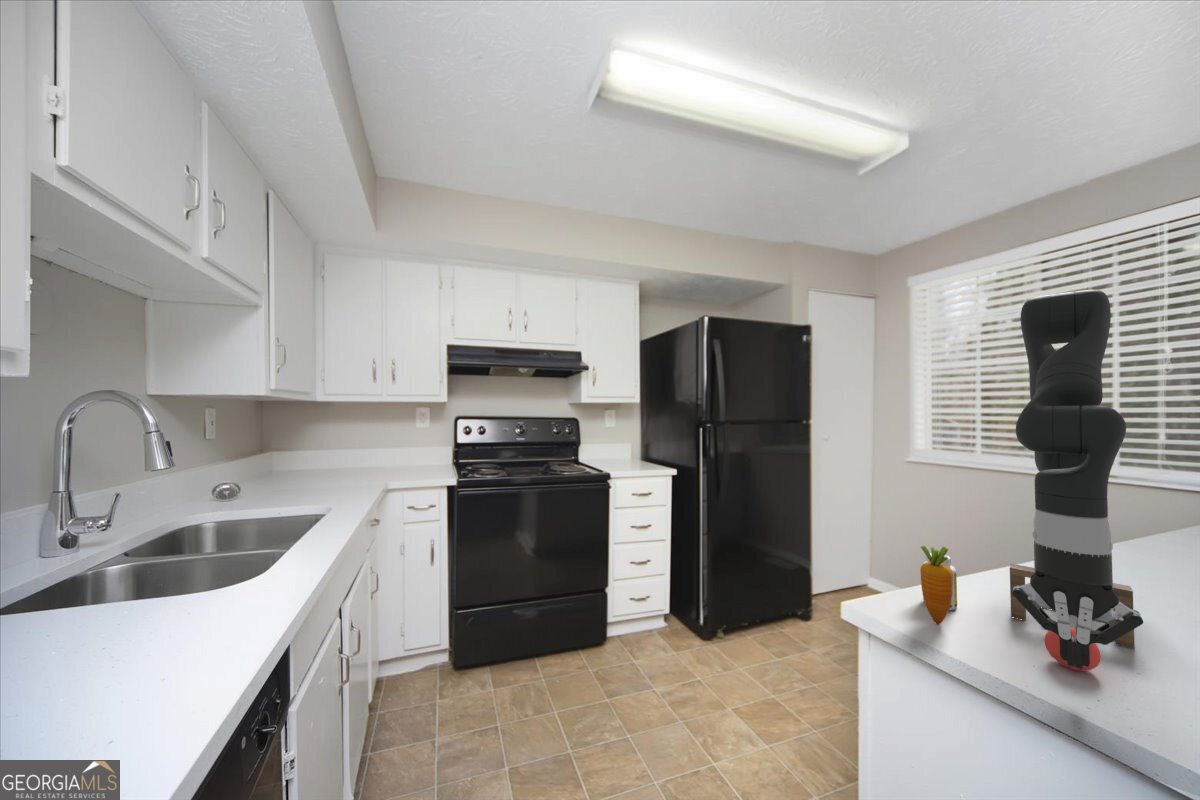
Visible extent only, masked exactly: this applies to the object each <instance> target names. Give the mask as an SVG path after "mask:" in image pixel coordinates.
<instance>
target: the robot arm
mask: <svg viewBox="0 0 1200 800" xmlns="http://www.w3.org/2000/svg"><path fill="white" fill-rule="evenodd" d="M1111 312H1112V310H1111V303H1110V299H1109V297H1108V295H1107V294H1106V292H1104V291H1103V290H1100V289H1086V290H1076V291H1069V292H1063V293H1062V292H1061V293H1053V294H1045V295H1040V296H1036V297H1035V296H1034V297H1032V298H1029V299H1027V300H1025V302H1024V303H1023V305H1022V308H1021V311H1020V328H1021V333H1022V338H1023V344H1024V347H1025V354H1026V356H1027V357H1026V358H1027V362H1028V371H1029V372H1028V373H1029V376H1028V377H1029V394H1030V395H1029V396H1030V401H1029V402H1028V403H1027V404H1026V405H1025V406H1024V408H1023V410H1022V411H1021V412H1020V414H1019V416H1018V418H1017V421H1016V424H1015V436H1016V438H1017V441H1018V442H1019V443H1020V444H1021V445H1022V447H1025V448H1026V449H1027V450H1029V451H1032V452H1034V464H1035V466H1036V469H1037V470H1038V472H1037V473H1036V474H1035V477H1034V505H1035V506H1034V507H1035V510H1034V516H1033V525H1032V526H1033V527H1032V529H1033V531H1032V537H1033V564H1034V566H1033V568H1034V570H1035V572H1034V574H1033V576H1032V577H1031V578H1029V579H1030V580H1029V582H1028V583H1025V585H1022V586H1019V585H1015V586H1014V587H1013V595H1014V596H1015V597H1016V599H1017V600H1018V601H1019V602H1020V603H1021V604H1022V605H1023V606H1024V608H1025V609H1026V612H1028V613H1029V614H1030V615H1031V617H1032V618H1033V619H1034V621H1036V622H1037V624H1039V626H1041V628H1042V629H1043V630H1046V631H1047V632H1048V631H1052V632H1054V633H1056V634H1057V635H1058V636H1059V642H1060V656H1061V658H1062V659H1063V660H1066V661H1067V665H1069V666H1072V667H1076V668H1079V669H1082V670H1083V666H1087V667H1088V666H1089V664H1090V651H1089V646H1090V645H1091V644H1092V643H1096V644H1101V645H1105V646H1107V645H1109V644H1111V643H1112V642H1115V640H1116V639H1118V638H1119V637H1121V636H1123V635H1125V634H1126V633H1128V632H1130V631H1131V630H1133V629H1134V630H1136V629H1137V628H1138V627H1140V626H1142V625H1143V624H1144V620H1143V617H1142V616H1141V613H1140V611H1137V610H1136V609H1134V608H1133V609H1130V608H1128V607H1127V606H1125V605H1124V604H1122V603H1121V602H1119V598H1118V595H1117V594H1116V592H1115V591H1114V589H1113V583H1114V579H1113V549H1114V547H1113V546H1114V545H1113V542H1112V531H1111V528H1110V527H1111V526H1110V521H1109V517H1108V516H1109V514H1108V513H1109V508H1108V506H1109V505H1108V486H1109V478H1110V474H1111V471H1112V467H1113V465H1114V462H1115V459H1116V458H1117V456H1118V453H1119V451H1120V449H1121V446H1122V444H1123V442H1124V440H1125V437H1126V433H1127V423H1126V421H1125V418H1124V417H1123V416H1122V414H1121V413H1119V411H1117V410H1115V409H1114V408H1112V407H1110V406H1107V405H1101V404H1102V401H1103V378H1102V377H1103V376H1102V365H1103V360H1104V356H1105V352H1106V351H1107V345H1108V340H1109V335H1110V328H1111V327H1110V326H1111V317H1112V314H1111ZM1056 344H1057V345H1059V344H1064V345H1063V346H1062V347H1060V348H1058V349H1057V350H1056V349H1055V348H1054V346H1053V345H1056ZM1034 591H1036V592H1037V593H1038V594H1039V596H1040V597H1041V598H1042V599H1043V600H1044V601H1045V603H1046V604H1047V605H1048V606H1049V607H1050V608H1051V609H1053V610H1055V611H1054V612H1055V614H1056V620H1054V619H1052V618H1051V617H1050V616H1049V615H1048V614H1047V612H1045V609H1044V608H1041V607H1040V606H1039V605H1038V604H1037V603H1036V602H1035V599H1036V596H1035V594H1034ZM1113 608H1115V611H1114V612H1113V611H1112V617H1113V616H1114V619H1113V618H1112V620H1111V621H1109V622H1107V623H1103V624H1102V625H1100V626H1099V627H1097V628H1096V629H1093V630H1092V621H1093V620H1092V619H1097V618H1099V617H1101V616H1102V615H1104V614H1105V613H1106V612H1108V611H1109V610H1110V611H1111V610H1113ZM1053 610H1052V611H1053ZM1070 616H1075V618H1076V621H1075V622H1076V623H1075V629H1076V637H1074V638H1073V636H1072V633H1071V630H1070V628H1071V625H1070ZM1074 658H1075V660H1074Z"/></svg>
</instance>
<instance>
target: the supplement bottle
mask: <svg viewBox="0 0 1200 800" xmlns="http://www.w3.org/2000/svg"><path fill="white" fill-rule="evenodd" d="M929 553H930V555H931V557H932V554H931V552H929ZM938 554H939V553H938ZM944 557H948V559H947V560H945V561H944V562H943V563H941V564H943V565H945V566H947V567H949V568H950V569H951V570H952V572H953V589H952V598H951V603H950V607H949V610H948V611H952V610H956V609H958V586H957V585H958V584H957V582H958V581H957V569H956V568H955V566H953V565H952V558H951V557H950V556H949V555H946V554H945V556H944ZM926 562H930V561H929V559H928V558H927V557H926V561H924V562H923V563H922V565H923V564H924V563H926ZM922 565H921V566H922ZM922 597H923V596H922ZM923 600H924V597H923Z"/></svg>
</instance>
